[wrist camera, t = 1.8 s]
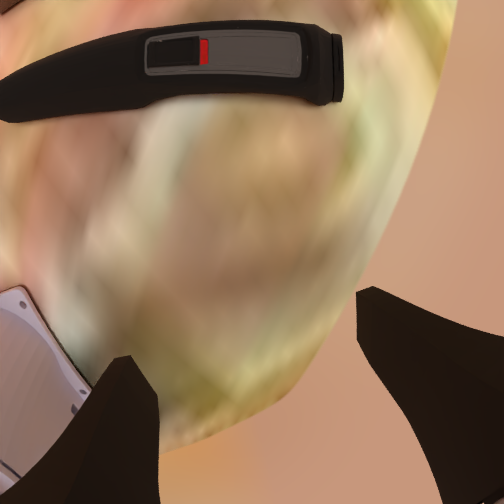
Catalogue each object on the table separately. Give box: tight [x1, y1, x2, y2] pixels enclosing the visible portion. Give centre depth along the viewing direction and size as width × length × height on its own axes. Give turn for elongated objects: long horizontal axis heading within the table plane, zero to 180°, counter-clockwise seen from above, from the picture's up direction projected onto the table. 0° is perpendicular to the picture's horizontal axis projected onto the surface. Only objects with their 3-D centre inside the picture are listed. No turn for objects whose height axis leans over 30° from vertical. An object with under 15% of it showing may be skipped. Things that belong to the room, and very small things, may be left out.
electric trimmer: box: [0, 20, 344, 123], centre depth 9 cm, size 4×16×3 cm, turn 90°
